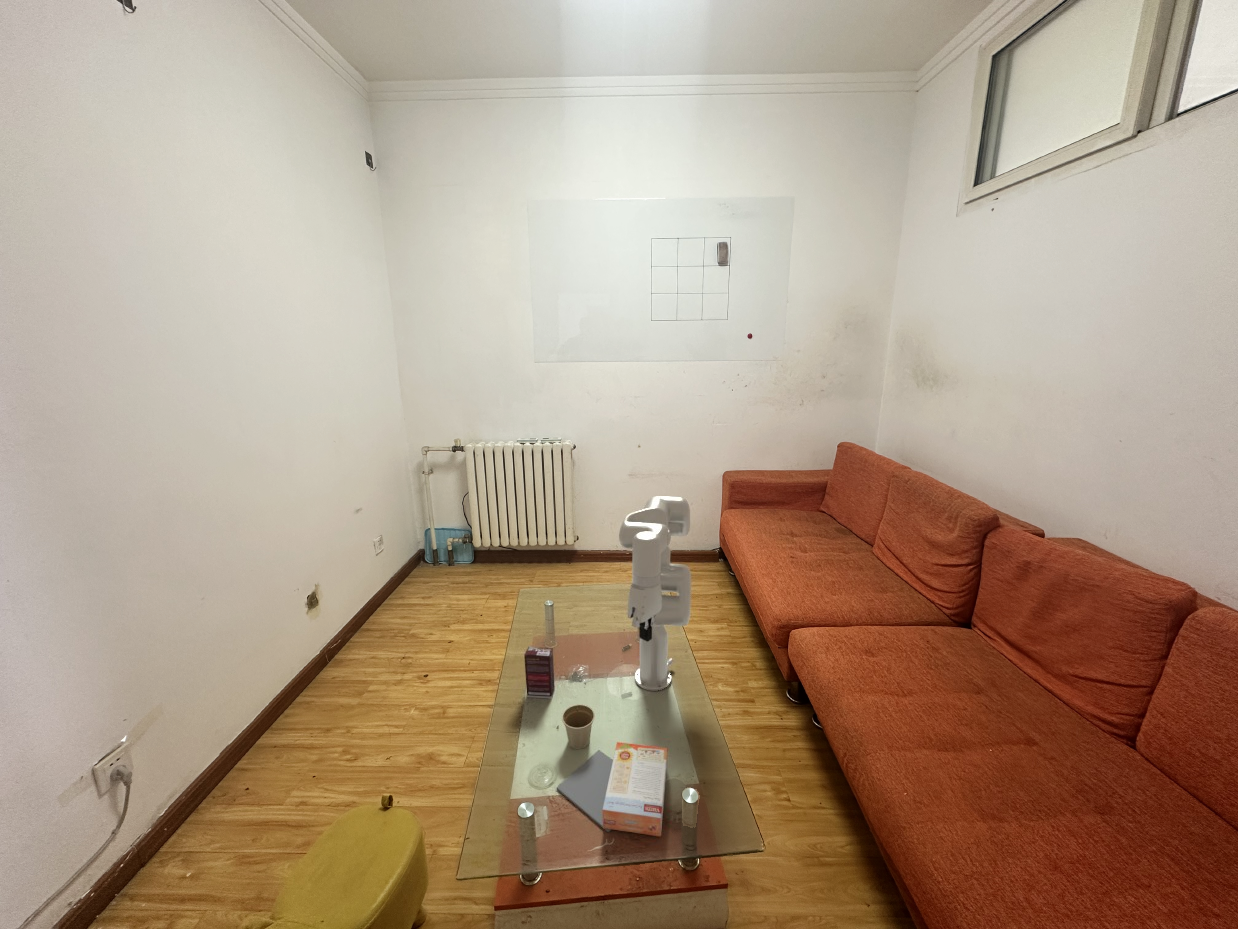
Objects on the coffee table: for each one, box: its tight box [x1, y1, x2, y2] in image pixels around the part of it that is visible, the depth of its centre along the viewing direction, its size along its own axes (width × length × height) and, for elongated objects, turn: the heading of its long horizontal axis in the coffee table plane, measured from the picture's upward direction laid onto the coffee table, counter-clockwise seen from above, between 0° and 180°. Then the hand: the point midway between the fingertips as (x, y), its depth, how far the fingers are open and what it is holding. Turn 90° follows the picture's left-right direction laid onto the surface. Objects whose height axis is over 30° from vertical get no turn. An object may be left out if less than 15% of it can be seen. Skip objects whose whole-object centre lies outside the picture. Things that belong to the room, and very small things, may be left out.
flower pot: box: [561, 704, 596, 750], centre depth 141 cm, size 9×9×9 cm
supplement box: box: [523, 646, 556, 699], centre depth 160 cm, size 9×5×16 cm, turn 85°
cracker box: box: [602, 741, 668, 837], centre depth 124 cm, size 14×6×21 cm
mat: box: [556, 749, 613, 833], centre depth 127 cm, size 16×18×1 cm
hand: (645, 638), depth 135 cm, fingers closed
